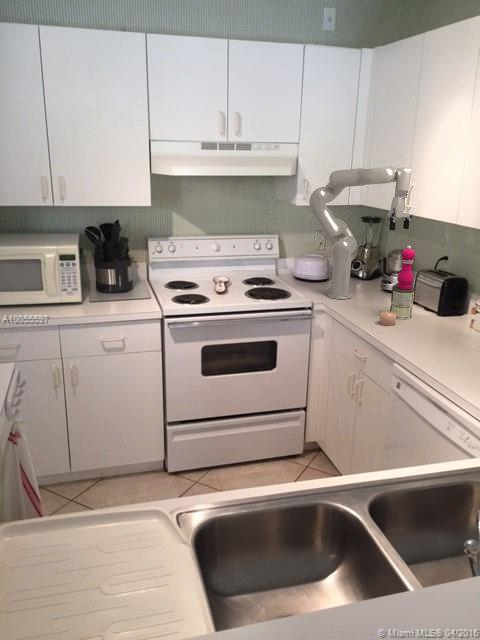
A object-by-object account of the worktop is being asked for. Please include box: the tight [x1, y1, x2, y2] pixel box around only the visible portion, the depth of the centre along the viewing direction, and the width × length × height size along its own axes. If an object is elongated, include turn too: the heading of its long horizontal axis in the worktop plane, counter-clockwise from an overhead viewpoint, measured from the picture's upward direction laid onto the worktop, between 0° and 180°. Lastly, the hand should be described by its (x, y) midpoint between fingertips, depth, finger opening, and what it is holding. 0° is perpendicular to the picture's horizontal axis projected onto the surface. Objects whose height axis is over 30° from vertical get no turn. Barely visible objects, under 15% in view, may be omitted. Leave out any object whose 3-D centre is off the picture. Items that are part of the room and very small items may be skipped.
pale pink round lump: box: [379, 310, 397, 327], centre depth 242 cm, size 7×7×5 cm
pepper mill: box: [396, 245, 416, 290], centre depth 246 cm, size 7×7×20 cm
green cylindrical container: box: [389, 284, 416, 321], centre depth 251 cm, size 10×10×14 cm
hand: (399, 229), depth 263 cm, fingers open, 9 cm apart
